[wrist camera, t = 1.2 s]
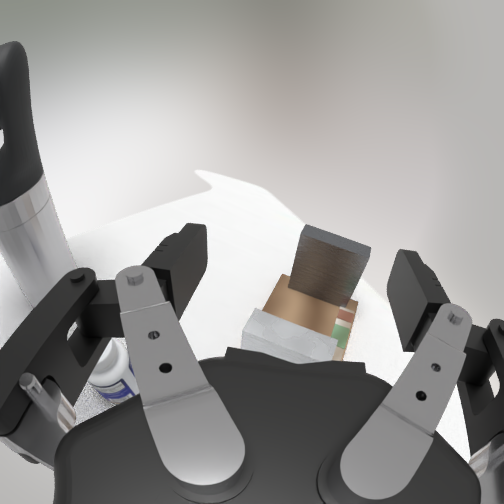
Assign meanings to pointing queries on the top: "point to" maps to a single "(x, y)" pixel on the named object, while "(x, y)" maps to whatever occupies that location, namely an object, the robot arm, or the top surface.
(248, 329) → the brushed steel sheet
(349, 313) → the brown wooden base board
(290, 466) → the robot arm
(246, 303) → the top surface
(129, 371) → the pill bottle
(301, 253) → the grey wood-grain slab
